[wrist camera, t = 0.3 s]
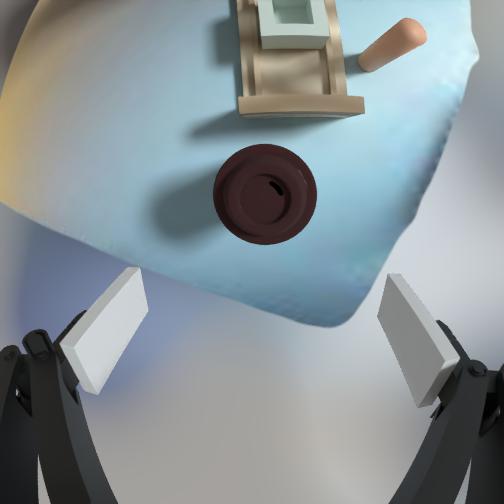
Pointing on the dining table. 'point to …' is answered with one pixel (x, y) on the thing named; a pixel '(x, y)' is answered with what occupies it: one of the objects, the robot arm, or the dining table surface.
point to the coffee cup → (265, 194)
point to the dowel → (392, 44)
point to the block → (293, 24)
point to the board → (293, 73)
